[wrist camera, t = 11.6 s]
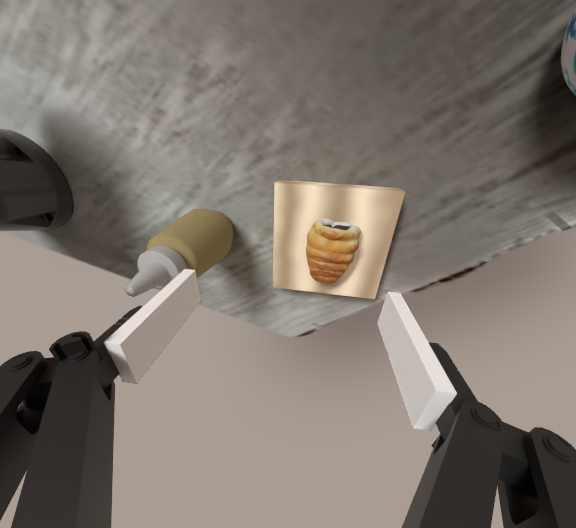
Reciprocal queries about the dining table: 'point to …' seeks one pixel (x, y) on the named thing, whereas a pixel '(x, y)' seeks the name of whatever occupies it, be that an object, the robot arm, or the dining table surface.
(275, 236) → the serving board
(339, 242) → the pastry
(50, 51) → the dining table surface
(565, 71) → the chinaware
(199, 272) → the squeeze bottle
